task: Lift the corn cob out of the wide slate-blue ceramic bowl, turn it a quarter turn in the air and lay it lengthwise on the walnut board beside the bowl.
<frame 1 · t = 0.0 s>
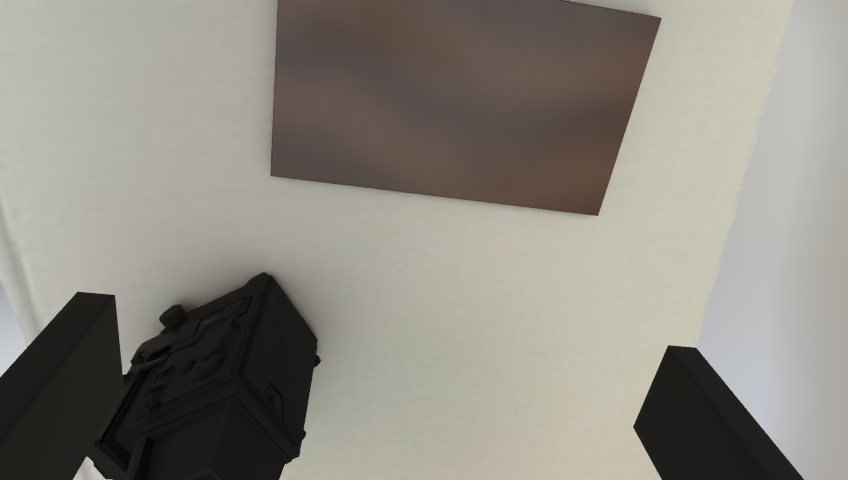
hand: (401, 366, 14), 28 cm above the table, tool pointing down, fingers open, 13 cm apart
camera: (229, 334, 46), on the table
walnut board: (456, 95, 39), on the table
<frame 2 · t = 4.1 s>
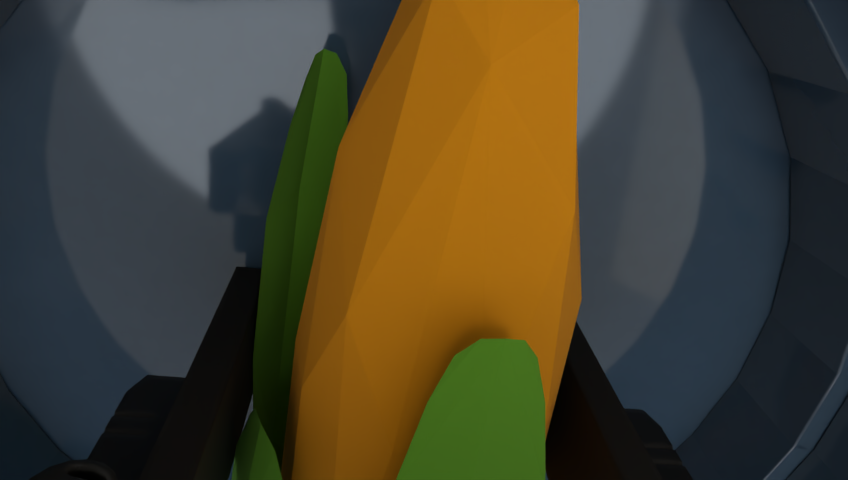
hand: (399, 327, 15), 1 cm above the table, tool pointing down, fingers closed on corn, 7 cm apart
corn: (394, 310, 16), resting on bowl, touching gripper
bowl: (394, 304, 16), on the table
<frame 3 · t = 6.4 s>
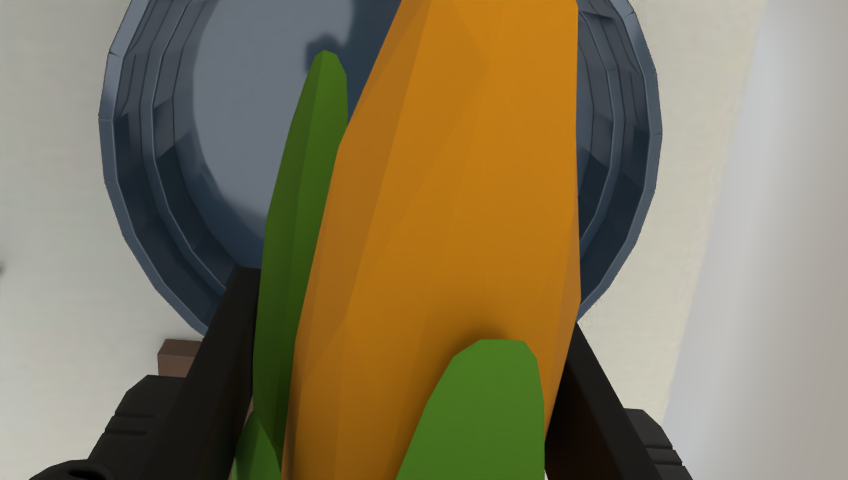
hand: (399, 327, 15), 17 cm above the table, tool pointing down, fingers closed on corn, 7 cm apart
corn: (394, 310, 16), point 16 cm above the table, touching gripper
walnut board: (349, 435, 39), on the table
bowl: (388, 146, 30), on the table
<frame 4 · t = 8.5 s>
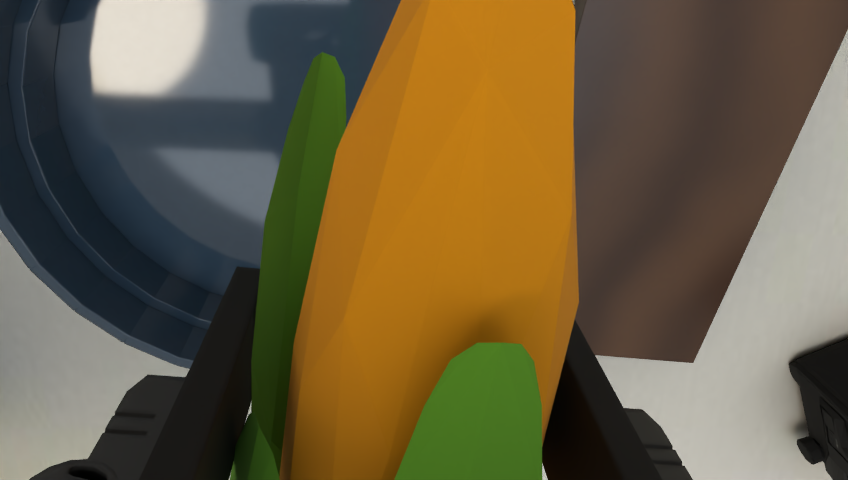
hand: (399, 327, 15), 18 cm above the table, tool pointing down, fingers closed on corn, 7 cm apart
corn: (393, 312, 16), point 17 cm above the table, touching gripper
camera: (845, 394, 43), on the table
walnut board: (646, 176, 33), on the table
bowl: (283, 127, 30), on the table
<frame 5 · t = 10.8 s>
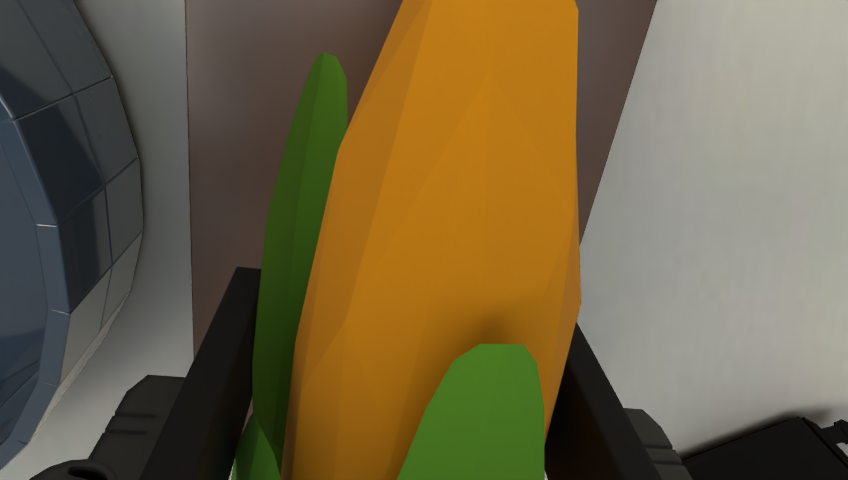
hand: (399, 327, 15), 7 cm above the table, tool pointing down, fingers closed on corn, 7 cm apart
corn: (394, 312, 16), point 6 cm above the table, touching gripper
walnut board: (391, 216, 21), on the table
when the fingers open (2 cm above the table, at t = 12.7 s): corn stays where it is, resting on walnut board.
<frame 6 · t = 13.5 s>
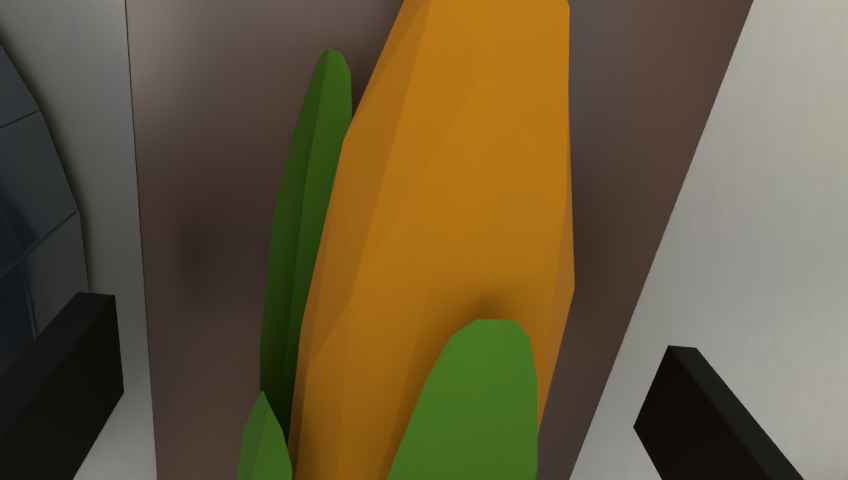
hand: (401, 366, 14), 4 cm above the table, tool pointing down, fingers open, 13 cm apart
corn: (396, 301, 16), point 1 cm above the table, touching walnut board
walnut board: (398, 277, 17), on the table
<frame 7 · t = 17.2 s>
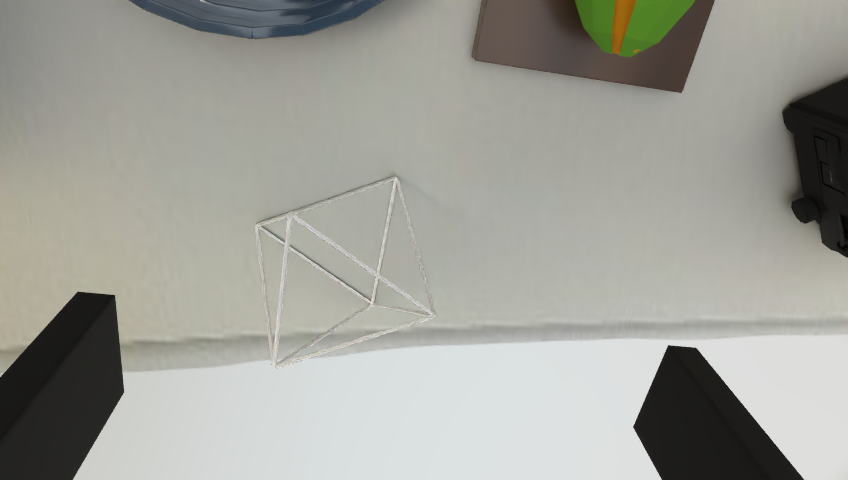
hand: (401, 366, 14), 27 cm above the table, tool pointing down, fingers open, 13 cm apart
camera: (842, 157, 42), on the table
geometric polyhedron: (342, 236, 42), on the table
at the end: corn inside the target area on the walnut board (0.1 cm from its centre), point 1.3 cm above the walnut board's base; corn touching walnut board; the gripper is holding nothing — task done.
